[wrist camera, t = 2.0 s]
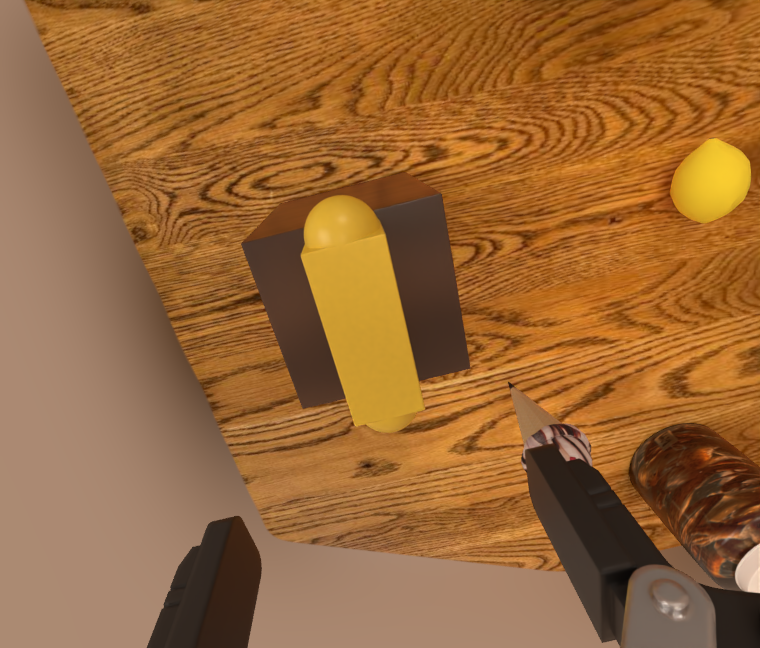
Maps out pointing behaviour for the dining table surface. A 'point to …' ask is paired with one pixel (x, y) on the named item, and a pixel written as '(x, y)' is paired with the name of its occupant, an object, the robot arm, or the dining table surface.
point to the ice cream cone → (548, 430)
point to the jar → (704, 500)
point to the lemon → (711, 181)
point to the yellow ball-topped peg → (362, 312)
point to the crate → (411, 268)
